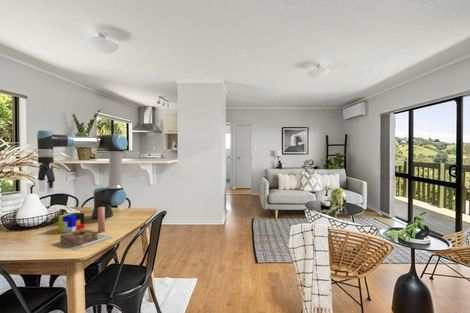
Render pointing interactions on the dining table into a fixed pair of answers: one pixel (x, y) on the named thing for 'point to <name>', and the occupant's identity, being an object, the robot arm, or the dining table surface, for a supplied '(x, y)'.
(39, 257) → the dining table surface
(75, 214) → the puzzle toy
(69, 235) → the brown wooden square block
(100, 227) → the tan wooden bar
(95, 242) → the mat
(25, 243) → the dining table surface
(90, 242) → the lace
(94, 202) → the robot arm
